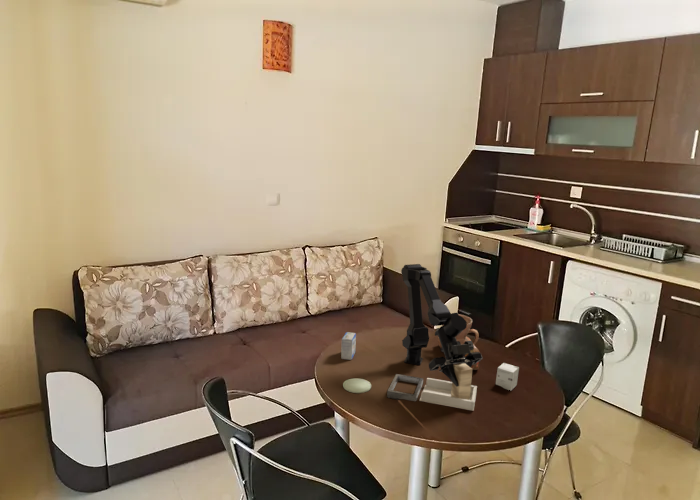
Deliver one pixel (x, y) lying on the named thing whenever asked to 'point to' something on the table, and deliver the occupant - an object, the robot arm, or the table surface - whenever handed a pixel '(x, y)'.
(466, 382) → the maple block
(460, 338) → the ceramic jug
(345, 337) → the medicine box
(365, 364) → the table surface
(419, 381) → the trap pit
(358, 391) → the pad
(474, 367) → the tin
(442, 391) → the cream rectangular tray
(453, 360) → the robot arm
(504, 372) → the skincare box
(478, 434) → the table surface
